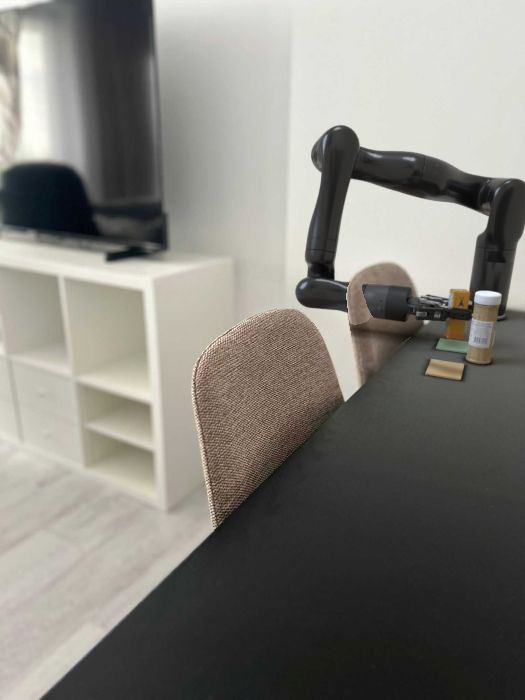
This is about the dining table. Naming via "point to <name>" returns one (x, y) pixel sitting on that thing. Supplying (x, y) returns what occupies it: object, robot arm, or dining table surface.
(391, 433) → the dining table surface
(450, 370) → the oak mat
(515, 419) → the dining table surface
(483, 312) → the sprinkles bottle
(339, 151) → the robot arm
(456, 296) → the supplement box
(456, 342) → the green mat
